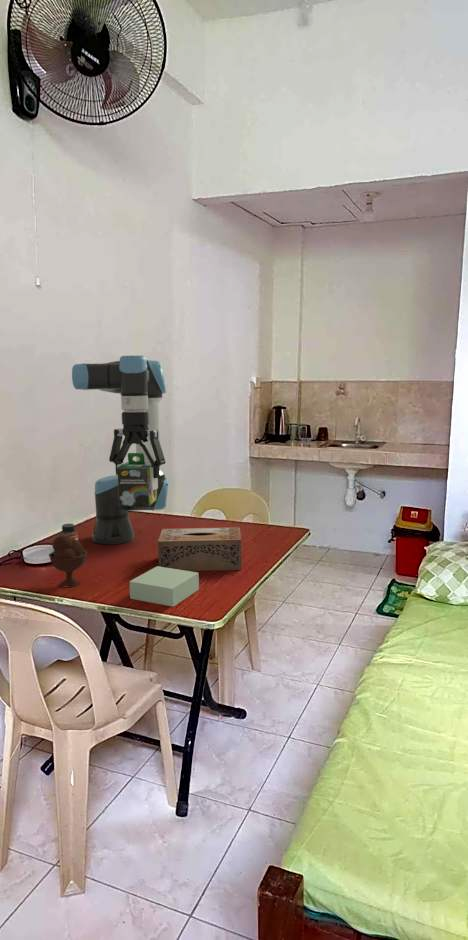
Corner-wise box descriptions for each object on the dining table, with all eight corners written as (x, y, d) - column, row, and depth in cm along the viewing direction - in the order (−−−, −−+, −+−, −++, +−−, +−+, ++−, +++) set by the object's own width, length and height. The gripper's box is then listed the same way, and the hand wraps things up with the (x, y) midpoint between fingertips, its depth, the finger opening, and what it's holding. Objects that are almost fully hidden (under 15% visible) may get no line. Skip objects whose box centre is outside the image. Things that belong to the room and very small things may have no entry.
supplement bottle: (57, 557, 212) (55, 525, 210) (73, 553, 216) (71, 521, 214) (66, 561, 208) (64, 528, 206) (82, 557, 212) (80, 524, 210)
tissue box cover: (239, 556, 212) (239, 527, 211) (241, 570, 198) (241, 539, 196) (163, 557, 212) (162, 528, 210) (159, 572, 198) (157, 541, 196)
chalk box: (157, 500, 187) (156, 450, 184) (149, 507, 178) (148, 454, 175) (127, 499, 188) (125, 450, 185) (117, 506, 179) (116, 454, 176)
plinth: (130, 598, 175) (129, 581, 175) (157, 582, 188) (157, 566, 187) (173, 606, 169) (172, 588, 168) (198, 589, 182) (198, 572, 181)
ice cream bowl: (69, 593, 180) (66, 542, 177) (42, 586, 186) (39, 537, 183) (96, 582, 189) (93, 533, 186) (69, 575, 195) (66, 528, 192)
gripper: (94, 411, 181) (97, 487, 184) (161, 412, 170) (164, 493, 174) (110, 409, 187) (113, 482, 191) (176, 410, 177) (178, 488, 180)
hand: (137, 487), depth 182 cm, fingers closed on chalk box, 11 cm apart
